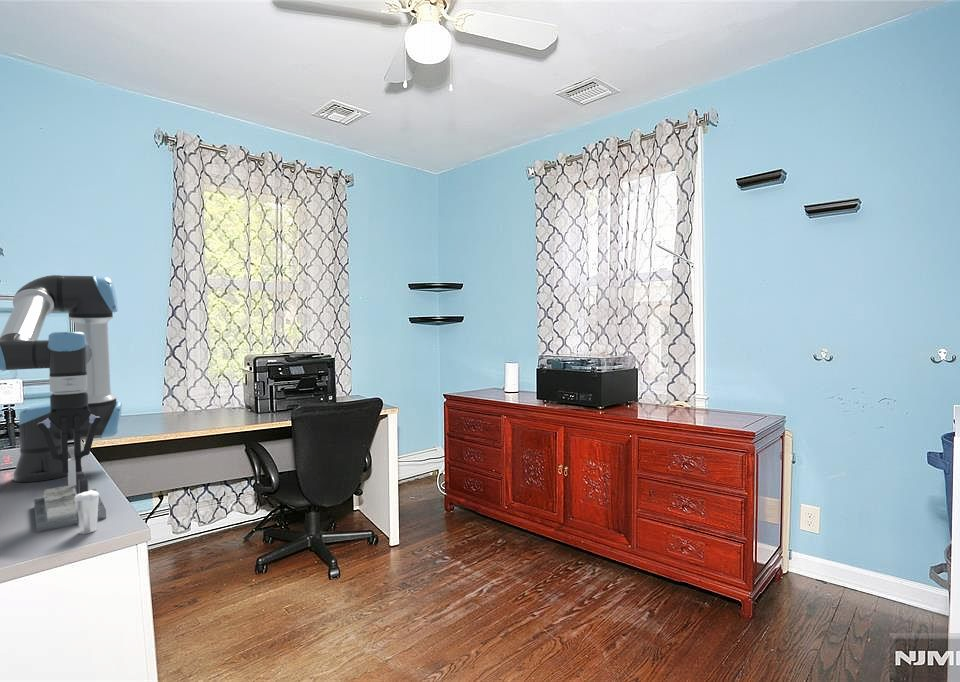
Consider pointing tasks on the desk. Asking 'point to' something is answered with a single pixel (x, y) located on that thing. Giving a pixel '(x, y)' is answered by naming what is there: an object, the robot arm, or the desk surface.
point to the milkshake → (86, 511)
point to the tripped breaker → (78, 475)
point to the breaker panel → (61, 520)
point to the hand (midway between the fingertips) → (72, 484)
